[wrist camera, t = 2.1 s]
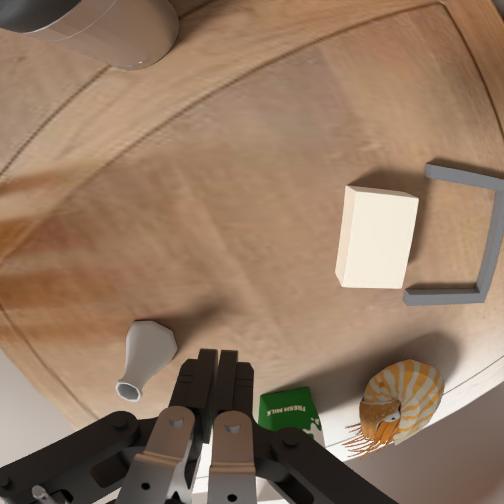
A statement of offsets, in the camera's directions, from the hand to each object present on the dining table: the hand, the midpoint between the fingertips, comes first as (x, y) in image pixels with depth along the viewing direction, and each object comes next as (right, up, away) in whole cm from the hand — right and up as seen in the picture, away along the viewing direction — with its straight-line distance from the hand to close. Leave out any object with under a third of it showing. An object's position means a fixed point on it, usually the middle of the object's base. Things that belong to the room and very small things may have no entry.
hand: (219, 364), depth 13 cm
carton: (+15, +7, +21) cm, 26 cm away
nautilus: (+21, -18, +30) cm, 41 cm away
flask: (-12, -7, +27) cm, 30 cm away
